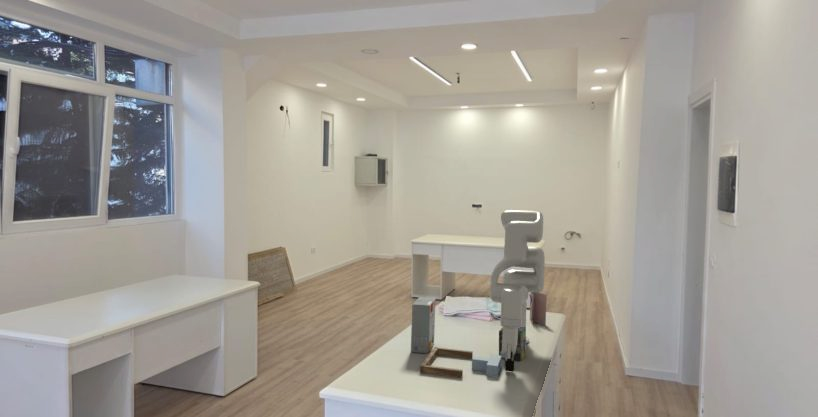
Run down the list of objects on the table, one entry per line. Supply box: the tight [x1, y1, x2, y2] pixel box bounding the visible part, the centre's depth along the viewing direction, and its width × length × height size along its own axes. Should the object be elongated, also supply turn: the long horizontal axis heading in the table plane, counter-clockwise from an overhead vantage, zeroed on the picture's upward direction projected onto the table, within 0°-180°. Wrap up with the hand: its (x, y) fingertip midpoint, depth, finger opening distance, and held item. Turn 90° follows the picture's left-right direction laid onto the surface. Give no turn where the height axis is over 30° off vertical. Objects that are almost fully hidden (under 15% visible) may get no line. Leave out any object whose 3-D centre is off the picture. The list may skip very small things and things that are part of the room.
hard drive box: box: [410, 296, 436, 354], centre depth 223 cm, size 16×8×20 cm, turn 168°
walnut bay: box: [419, 346, 474, 379], centre depth 203 cm, size 23×16×2 cm
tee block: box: [471, 353, 502, 378], centre depth 199 cm, size 12×10×4 cm
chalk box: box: [498, 326, 527, 362], centre depth 213 cm, size 9×9×15 cm
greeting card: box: [528, 292, 547, 326], centre depth 265 cm, size 11×7×15 cm, turn 174°
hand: (509, 370), depth 196 cm, fingers closed
